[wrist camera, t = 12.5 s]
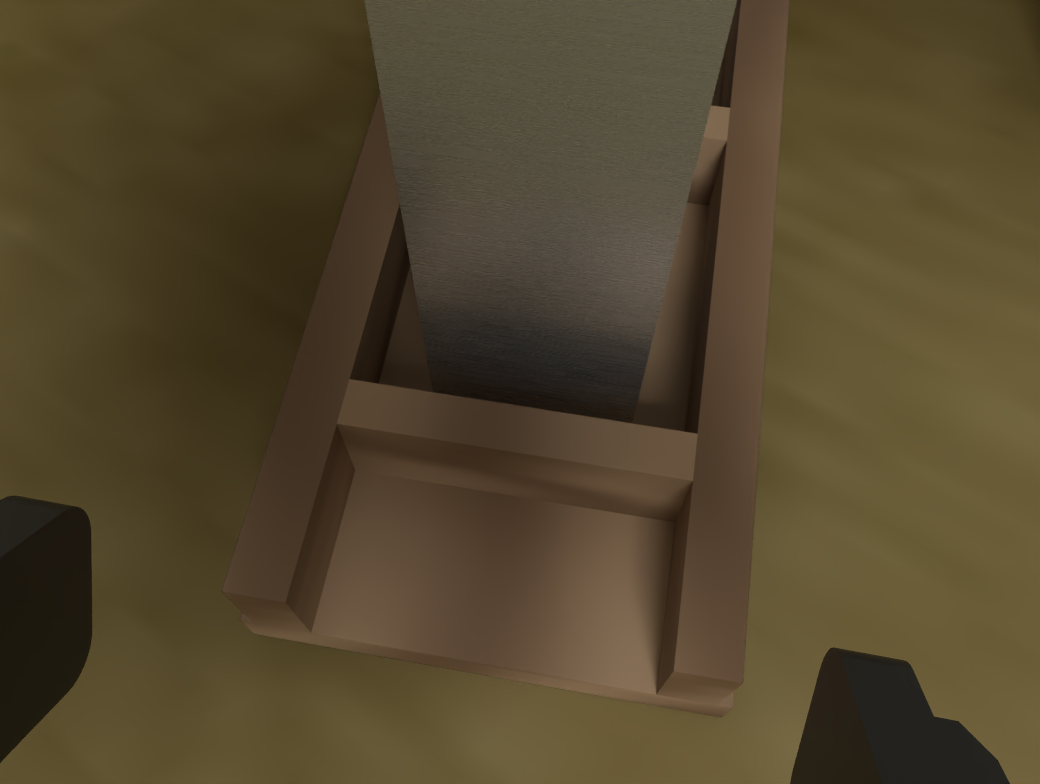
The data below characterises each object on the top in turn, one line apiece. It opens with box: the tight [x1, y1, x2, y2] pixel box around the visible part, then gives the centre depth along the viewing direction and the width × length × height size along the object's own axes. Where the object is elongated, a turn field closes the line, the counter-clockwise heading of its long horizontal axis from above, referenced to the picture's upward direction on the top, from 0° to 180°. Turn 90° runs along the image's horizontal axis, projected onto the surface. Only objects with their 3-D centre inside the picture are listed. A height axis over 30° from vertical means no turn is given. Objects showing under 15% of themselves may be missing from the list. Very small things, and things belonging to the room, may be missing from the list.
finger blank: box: [364, 0, 737, 423], centre depth 18 cm, size 4×5×12 cm
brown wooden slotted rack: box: [222, 0, 790, 717], centre depth 19 cm, size 10×22×13 cm, turn 170°
